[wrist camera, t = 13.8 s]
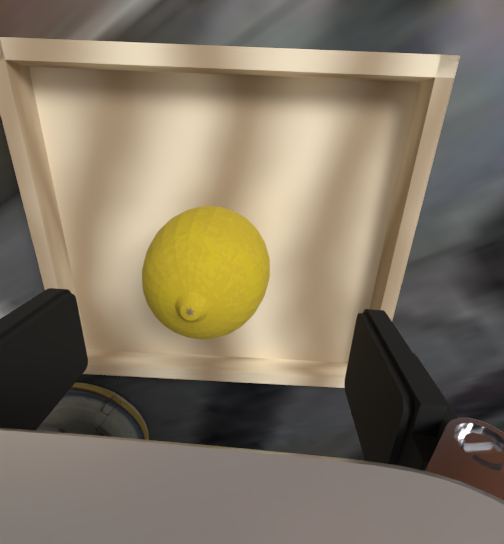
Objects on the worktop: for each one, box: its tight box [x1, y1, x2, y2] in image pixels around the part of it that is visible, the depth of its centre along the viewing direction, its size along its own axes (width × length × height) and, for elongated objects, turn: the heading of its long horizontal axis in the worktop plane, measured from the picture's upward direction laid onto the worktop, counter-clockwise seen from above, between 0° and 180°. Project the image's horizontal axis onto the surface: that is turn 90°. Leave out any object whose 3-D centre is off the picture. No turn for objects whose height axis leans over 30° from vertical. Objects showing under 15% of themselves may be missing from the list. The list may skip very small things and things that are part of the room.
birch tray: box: [0, 37, 460, 388], centre depth 18 cm, size 20×18×2 cm
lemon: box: [142, 206, 270, 339], centre depth 14 cm, size 6×6×8 cm
